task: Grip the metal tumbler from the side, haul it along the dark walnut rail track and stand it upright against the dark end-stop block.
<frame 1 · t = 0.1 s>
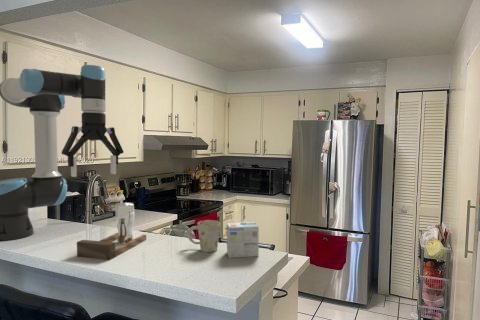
hand: (94, 175, 121), 28 cm above the table, tool pointing down, fingers open, 13 cm apart
rail track: (114, 247, 132), on the table
metal tumbler: (125, 242, 139), on the table
light bulb box: (242, 255, 125), on the table
mug: (203, 249, 130), on the table
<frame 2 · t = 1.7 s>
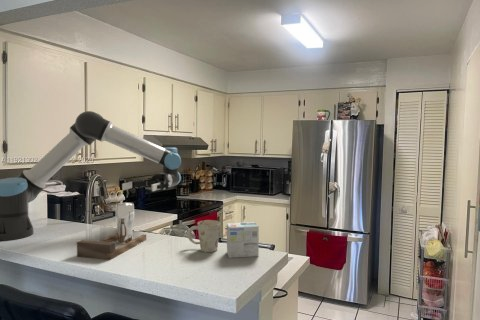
hand: (137, 187, 147), 20 cm above the table, tool horizontal, fingers open, 13 cm apart
nothing on the table moved.
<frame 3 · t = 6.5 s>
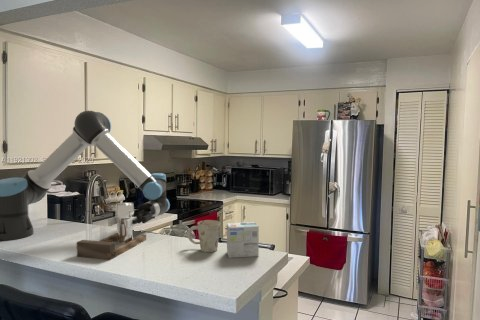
hand: (117, 223, 134), 9 cm above the table, tool horizontal, fingers closed on metal tumbler, 7 cm apart
metal tumbler: (125, 242, 139), on the table, touching gripper
everything else where it was.
when the fingers open (10 cm above the table, at t = 11.3 s): metal tumbler drops 1 cm, on the table.
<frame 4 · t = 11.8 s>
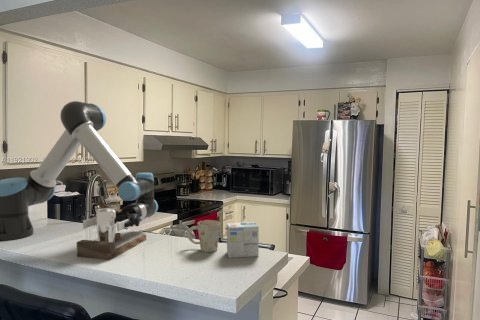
hand: (100, 226, 124), 10 cm above the table, tool horizontal, fingers open, 13 cm apart
metal tumbler: (106, 251, 127), on the table
everything else where it was.
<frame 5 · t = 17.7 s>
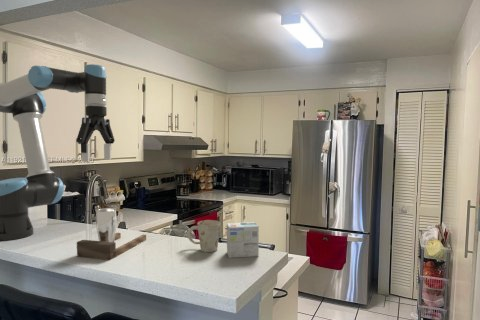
hand: (97, 160, 139), 32 cm above the table, tool pointing down, fingers open, 13 cm apart
nothing on the table moved.
at the end: metal tumbler 0.4 cm from the target spot on the rail track, point 0.0 cm above the rail track's base; metal tumbler tilted 0°; the gripper is holding nothing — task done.
